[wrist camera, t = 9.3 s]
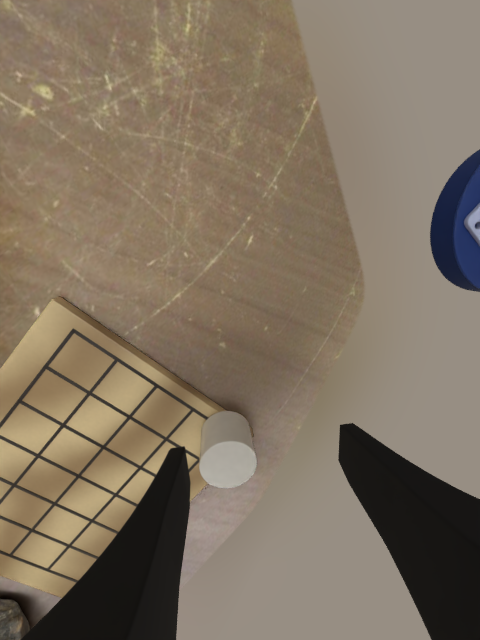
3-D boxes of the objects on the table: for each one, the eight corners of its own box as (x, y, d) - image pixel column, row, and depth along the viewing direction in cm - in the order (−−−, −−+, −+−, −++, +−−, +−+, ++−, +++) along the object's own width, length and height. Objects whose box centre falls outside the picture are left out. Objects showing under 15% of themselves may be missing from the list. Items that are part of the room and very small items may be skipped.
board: (252, 428, 22) (254, 436, 21) (92, 594, 26) (87, 608, 25) (60, 296, 18) (50, 299, 17) (-107, 519, 21) (-123, 533, 20)
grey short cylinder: (259, 426, 21) (269, 459, 18) (229, 459, 22) (232, 497, 18) (221, 401, 20) (224, 431, 17) (190, 437, 21) (187, 472, 17)
